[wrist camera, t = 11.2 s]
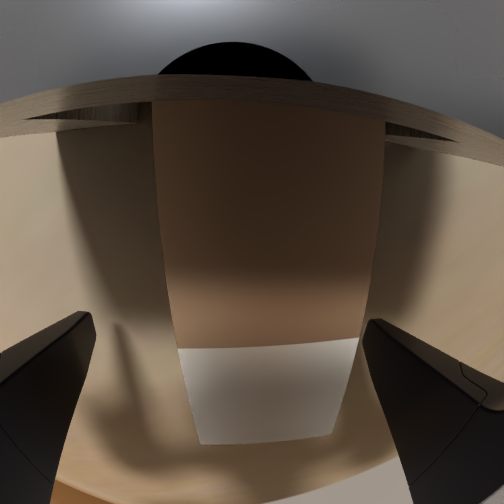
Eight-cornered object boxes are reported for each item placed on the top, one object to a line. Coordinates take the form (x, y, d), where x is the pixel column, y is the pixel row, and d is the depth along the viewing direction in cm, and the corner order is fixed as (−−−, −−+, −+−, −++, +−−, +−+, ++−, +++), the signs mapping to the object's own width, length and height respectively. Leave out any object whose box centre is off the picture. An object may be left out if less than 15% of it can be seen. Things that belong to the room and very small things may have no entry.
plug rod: (311, -61, 6) (345, -124, 2) (306, 355, 12) (331, 434, 8) (193, -64, 5) (180, -134, 2) (206, 360, 11) (200, 444, 8)
